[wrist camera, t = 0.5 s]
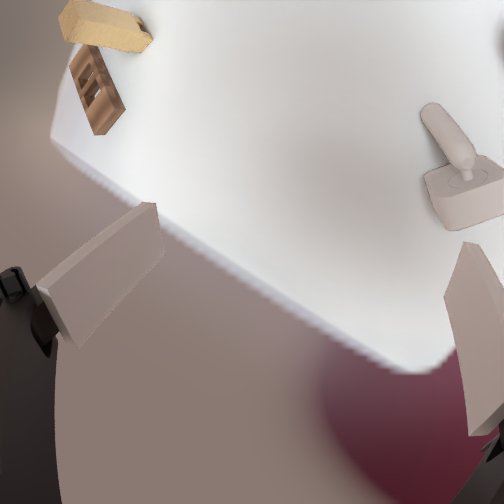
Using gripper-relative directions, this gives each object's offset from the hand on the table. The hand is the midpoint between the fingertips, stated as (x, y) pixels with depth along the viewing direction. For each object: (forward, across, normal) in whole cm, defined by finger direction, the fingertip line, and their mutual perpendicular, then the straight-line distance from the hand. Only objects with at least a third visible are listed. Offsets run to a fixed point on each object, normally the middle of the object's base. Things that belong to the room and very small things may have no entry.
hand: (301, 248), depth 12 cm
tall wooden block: (+33, -32, +18) cm, 49 cm away
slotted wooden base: (+33, -42, +10) cm, 54 cm away
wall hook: (+24, +13, 0) cm, 27 cm away
